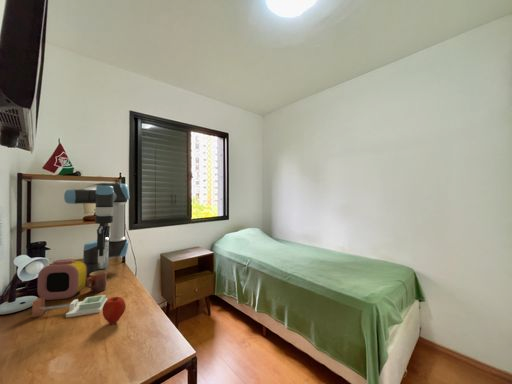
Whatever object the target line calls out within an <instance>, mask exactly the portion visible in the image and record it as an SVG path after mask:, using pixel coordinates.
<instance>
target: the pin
mask: <svg viewBox="0 0 512 384" xmlns="http://www.w3.org/2000/svg"><path fill="white" fill-rule="evenodd" d="M77 304H78V303H75V305H77ZM31 306H32V308H31V309H32V310H31V313H32V315H31V318H37V317H41V316H42V315H43V314H44V313H45V311H46V310H47V311H48V310H51V309H52V310H53V309H58V308H59V309H60V308H66V307H70V303H63V304H57V305H50V306H46V300H45V297H42V298H41V297H37V298H36V299H34V300H32V305H31Z"/></svg>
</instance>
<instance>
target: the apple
mask: <svg viewBox="0 0 512 384" xmlns="http://www.w3.org/2000/svg"><path fill="white" fill-rule="evenodd" d="M125 311H126V301H125V299H124V298H123V297H121V296H111V297H110V298H109V299H108V298H107V301H106V302H105V303H104V306H103V308H102V316H103V318H104V320H106V322H107V323H108V324H110V325H115V324H116V323H117V322H118V321H119V320H120V319H121V317H122V316H123V315H124V313H125Z"/></svg>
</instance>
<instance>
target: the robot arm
mask: <svg viewBox="0 0 512 384" xmlns="http://www.w3.org/2000/svg"><path fill="white" fill-rule="evenodd" d="M63 196H64V198H63V199H64V202H65V203H66V204H69V205H70V204H71V205H72V204H74V205H75V204H76V205H77V204H79V205H83V204H95V208H94V210H93V211H94V214H95V217H94V223H95V224H97V225H98V224H99V225H98V227H97V229H96V236H97V240H93V241H89V242H87V243H84V245H83V250H82V251H83V252H82V253H83V257H82V258H83V261H82V262H84V263H85V265H86V266H87V278H89V277H90V275H89V274H90V273H92V272H95V271H101V270H106V271H108V270H107V267H106V268H101V269H99V268H98V263H100V262H105V237H109V252H108V259H110V258H111V259H113V258H121V257H125V256H127V254H128V248H129V240H128V239H127V236H125V214H126V213H125V209H126V207H125V206H126V204H127V203H128V200H130V190H129V186H128V184H126V183H117V182H116V183H113V182H111V183H109V182H101V183H100V182H99V183H94V184H90V185H87V186H86V187H83V188H80V189H79V188H78V189H75V188H73V189H66V190H65V192H64V195H63ZM109 224H110V225H109Z"/></svg>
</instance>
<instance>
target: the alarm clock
mask: <svg viewBox="0 0 512 384" xmlns="http://www.w3.org/2000/svg"><path fill="white" fill-rule="evenodd" d="M86 279H87V266H86V265H85V263H84V262H83V261H81V260H78V259H73V258H72V259H69V258H68V259H67V258H66V259H57V260H54V261H53V262H52V264H50V265H46V266H44V267H43V268H42V269H40V271H39V272H38V275H37V288H36V289H37V291H36V292H37V295H38V296H39V298H42V297H45V301H52V300H53V301H54V300H65V299H70V298H72V297H74V296H75V295H76V294H77V293H78V292H80V291H82V290H84V288H85V287H86V285H85V281H86Z"/></svg>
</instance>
